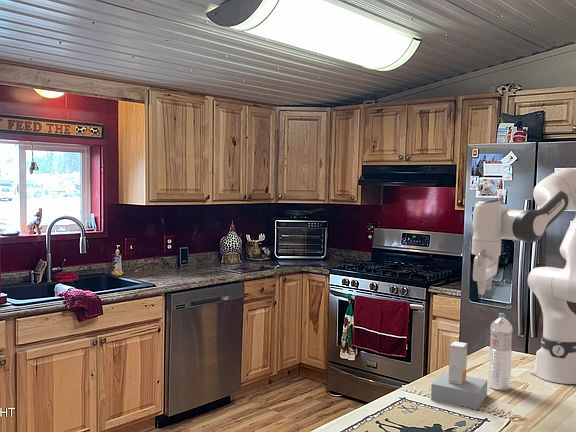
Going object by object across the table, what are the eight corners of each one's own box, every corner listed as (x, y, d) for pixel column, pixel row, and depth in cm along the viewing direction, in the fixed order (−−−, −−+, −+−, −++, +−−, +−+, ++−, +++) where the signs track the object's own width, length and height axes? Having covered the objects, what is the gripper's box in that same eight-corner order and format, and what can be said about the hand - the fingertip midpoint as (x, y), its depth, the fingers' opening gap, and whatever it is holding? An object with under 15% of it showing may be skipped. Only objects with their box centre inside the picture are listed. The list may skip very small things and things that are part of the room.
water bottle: (512, 392, 178) (514, 316, 177) (490, 390, 180) (492, 315, 179) (508, 385, 185) (510, 312, 184) (486, 383, 186) (489, 310, 185)
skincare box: (461, 385, 169) (463, 347, 168) (448, 382, 171) (449, 345, 171) (466, 380, 174) (467, 343, 174) (453, 377, 176) (454, 340, 176)
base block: (443, 386, 182) (443, 371, 182) (486, 395, 175) (487, 380, 175) (431, 399, 170) (431, 383, 170) (477, 409, 163) (477, 393, 163)
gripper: (489, 252, 164) (488, 298, 165) (502, 247, 182) (500, 288, 182) (468, 251, 168) (466, 295, 168) (482, 246, 185) (481, 286, 186)
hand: (484, 292), depth 175 cm, fingers open, 8 cm apart
